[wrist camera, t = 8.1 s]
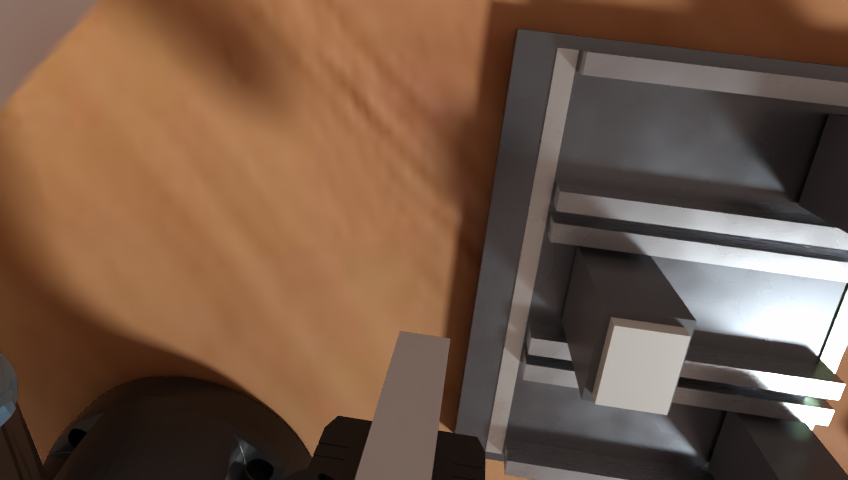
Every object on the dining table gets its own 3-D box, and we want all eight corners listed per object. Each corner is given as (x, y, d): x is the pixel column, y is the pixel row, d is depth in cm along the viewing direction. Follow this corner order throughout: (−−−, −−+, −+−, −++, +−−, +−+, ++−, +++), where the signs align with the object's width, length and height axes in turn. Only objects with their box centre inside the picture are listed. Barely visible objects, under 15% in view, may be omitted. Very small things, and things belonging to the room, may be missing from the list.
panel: (453, 433, 31) (450, 474, 28) (516, 28, 24) (519, 28, 21) (767, 483, 30) (796, 530, 27) (926, 76, 23) (987, 83, 20)
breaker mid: (561, 320, 26) (583, 410, 20) (577, 244, 25) (607, 315, 19) (630, 330, 26) (673, 423, 20) (649, 254, 25) (702, 329, 19)
